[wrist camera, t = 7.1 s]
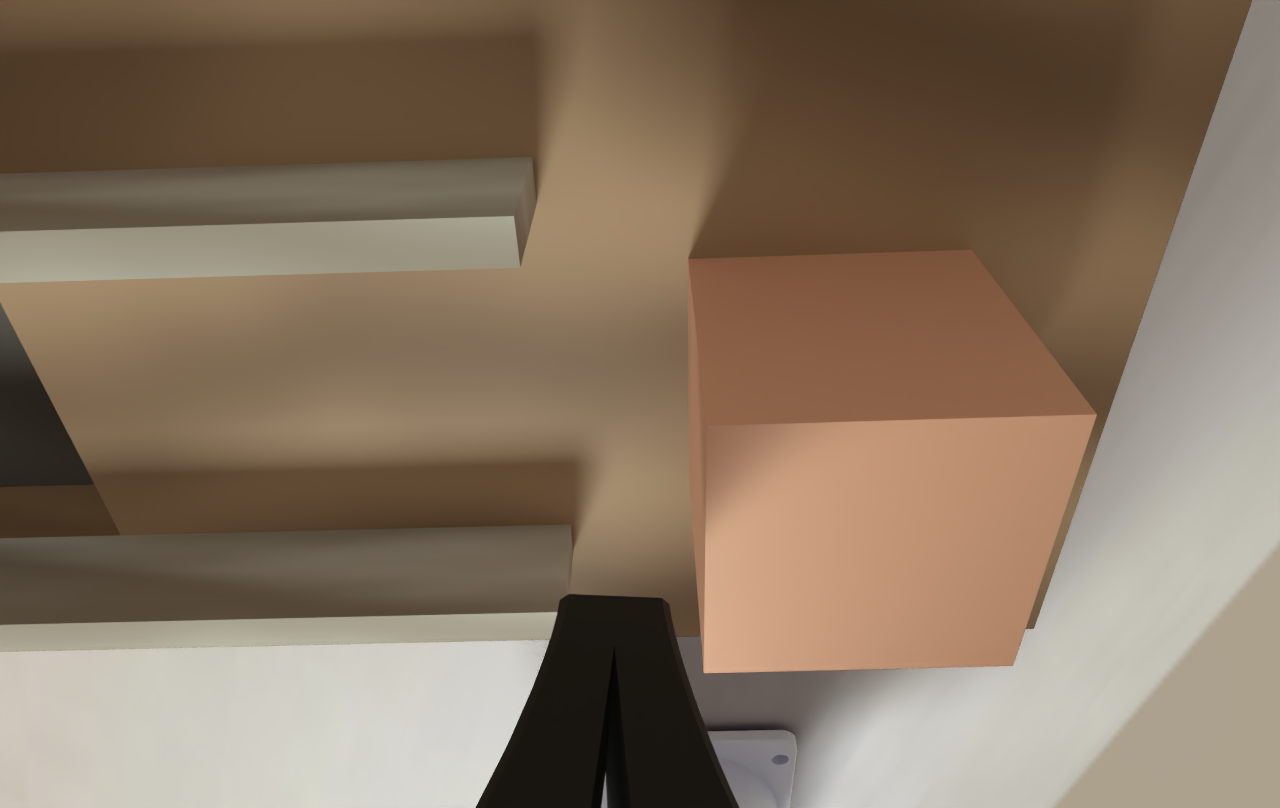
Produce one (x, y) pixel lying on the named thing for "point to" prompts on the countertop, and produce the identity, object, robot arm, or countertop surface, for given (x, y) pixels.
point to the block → (870, 461)
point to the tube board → (499, 276)
